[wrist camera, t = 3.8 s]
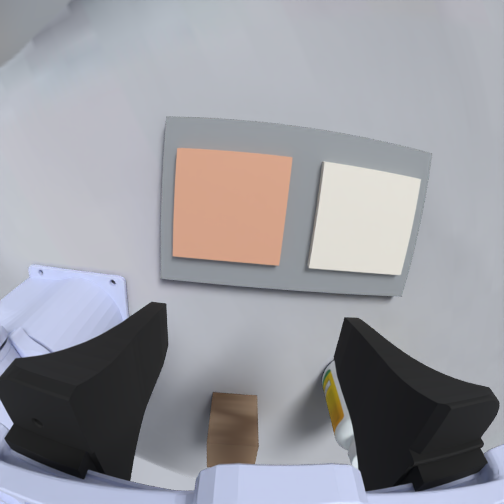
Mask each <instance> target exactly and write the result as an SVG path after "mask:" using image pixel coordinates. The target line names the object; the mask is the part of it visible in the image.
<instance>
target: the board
mask: <svg viewBox="0 0 504 504" xmlns="http://www.w3.org/2000/svg"><path fill="white" fill-rule="evenodd" d="M431 159H432V153H429V152H425V151H421V150H417V149H413V148H409V147H405V146H401V145H397V144H393V143H388V142H384V141H379V140H374V139H370V138H365V137H360V136H355V135H349V134H344V133H338V132H332V131H326V130H320V129H313V128H307V127H300V126H292V125H284V124H276V123H267V122H257V121H246V120H234V119H219V118H201V117H167V116H166V127H165V140H164V154H163V172H162V195H161V279H169V280H179V281H189V282H199V283H209V284H220V285H232V286H243V287H255V288H268V289H281V290H295V291H309V292H324V293H341V294H358V295H378V296H399V297H402V294H403V290H404V287H405V283H406V280H407V276H408V272H409V269H410V265H411V261H412V257H413V253H414V249H415V245H416V240H417V236H418V232H419V227H420V222H421V218H422V213H423V208H424V202H425V197H426V191H427V185H428V179H429V173H430V166H431Z"/></svg>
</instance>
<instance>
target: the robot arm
mask: <svg viewBox="0 0 504 504" xmlns="http://www.w3.org/2000/svg"><path fill="white" fill-rule="evenodd" d="M28 269H29V276H30V277H29V278H28V279H26V280H25V281H24V282H23V283H21V284H20V285H19V286H17V287H16V288H15V289H14V290H12V291H11V292H10V293H9V294H7V295H6V296H5V297H4V298H3V299H1V300H0V504H504V444H502V445H500V446H497V447H494V448H492V449H490V450H488V451H487V452H485V453H484V454H483V452H482V451H481V449H480V448H482V447H483V445H484V443H483V441H482V439H481V436H482V435H483V434H484V432H485V431H486V430H487V428H488V427H489V426H490V424H491V423H492V421H493V420H494V418H495V417H496V415H497V412H498V410H499V401H498V399H497V398H496V396H495V395H494V393H493V392H492V390H491V389H490V388H489V387H485V386H480V385H476V384H472V383H468V382H465V381H461V380H458V379H455V378H453V377H450V376H447V375H445V374H443V373H440V372H438V371H436V370H434V369H432V368H430V367H428V366H426V365H424V364H422V363H420V362H419V361H417V360H415V359H413V358H412V357H410V356H409V355H407V354H406V353H404V352H403V351H401V350H400V349H398V348H397V347H396V346H394V345H393V344H392V343H390V342H389V341H388V340H386V339H385V338H384V337H383V336H381V335H380V334H379V333H378V332H376V331H375V330H374V329H373V328H371V327H370V326H369V325H368V324H366V323H365V322H364V321H362V320H361V319H359V318H346V317H345V318H344V322H343V325H342V329H341V333H340V337H339V340H338V344H337V347H336V351H335V354H334V361H335V368H336V373H337V378H338V381H339V384H340V388H341V391H342V394H343V397H344V400H345V403H346V406H347V409H348V412H349V416H350V419H351V423H352V427H353V433H354V439H355V445H356V453H357V461H358V469H356V468H355V467H353V466H351V465H348V464H336V463H327V464H304V465H264V464H242V463H235V464H218V465H215V466H213V467H210V468H207V469H204V470H202V471H201V472H200V473H199V475H198V477H197V478H196V483H195V490H194V491H181V490H171V489H165V488H160V487H154V486H149V485H144V484H140V483H136V482H131V481H130V479H131V473H132V466H133V460H134V455H135V450H136V445H137V441H138V436H139V432H140V428H141V424H142V420H143V416H144V412H145V409H146V406H147V404H148V401H149V399H150V396H151V394H152V391H153V389H154V386H155V384H156V381H157V379H158V377H159V374H160V372H161V369H162V367H163V364H164V360H165V356H166V352H167V348H168V331H167V310H166V304H165V303H157V302H151V303H149V304H148V305H146V306H145V307H143V308H142V309H140V310H139V311H137V312H136V313H135V314H133V315H132V316H130V317H129V312H128V301H127V289H126V280H125V279H124V278H123V277H122V276H118V275H109V274H101V273H93V272H85V271H78V270H70V269H63V268H56V267H49V266H42V265H35V264H32V265H31V266H29V268H28ZM41 270H42V271H43V273H42V272H41ZM111 280H114V281H115V283H116V284H114V283H112V281H111Z"/></svg>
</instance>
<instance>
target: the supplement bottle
mask: <svg viewBox="0 0 504 504" xmlns="http://www.w3.org/2000/svg"><path fill="white" fill-rule="evenodd" d="M322 386H323V390H324V394H325V398H326V402H327V406H328V410H329V414H330V418H331V422H332V426H333V431H334V435H335V439H336V441H337V443H338V444H339V445H340V446H341V447H342V448H344V449H346V450H348V456H349V458H350V462H351V465H352V466H353V467H355V468H356V469H358V461H357V453H356V445H355V439H354V433H353V427H352V423H351V419H350V416H349V412H348V409H347V406H346V403H345V400H344V397H343V394H342V391H341V388H340V384H339V381H338V378H337V373H336V368H335V361H332V362H331V363H330V364H329V365H328V367H327V368H326V369H325V371H324V374H323V377H322Z"/></svg>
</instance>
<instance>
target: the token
mask: <svg viewBox="0 0 504 504" xmlns="http://www.w3.org/2000/svg"><path fill="white" fill-rule="evenodd" d="M258 447H259V444H258V411H257V395H242V394H229V393H217V392H213V396H212V404H211V412H210V420H209V428H208V437H207V467H213V466H215V465H218V464H235V463H242V464H255V461H256V456H257V451H258Z"/></svg>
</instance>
